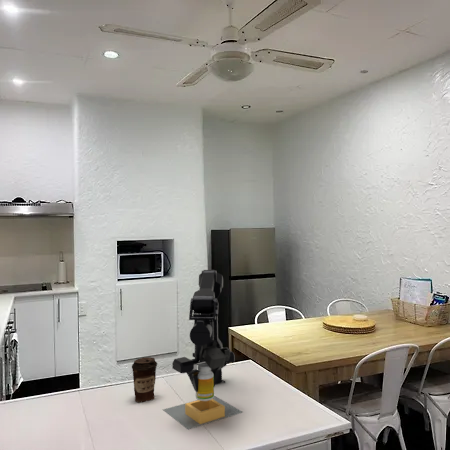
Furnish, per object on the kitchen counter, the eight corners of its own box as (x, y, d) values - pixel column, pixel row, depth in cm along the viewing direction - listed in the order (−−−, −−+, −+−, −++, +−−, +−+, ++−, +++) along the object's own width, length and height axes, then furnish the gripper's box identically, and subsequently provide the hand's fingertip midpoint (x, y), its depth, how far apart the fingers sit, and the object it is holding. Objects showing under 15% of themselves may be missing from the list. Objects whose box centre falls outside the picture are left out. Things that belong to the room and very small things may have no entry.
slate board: (162, 411, 127) (162, 409, 127) (214, 397, 138) (214, 395, 138) (188, 431, 114) (188, 429, 114) (243, 414, 125) (243, 412, 125)
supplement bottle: (216, 399, 122) (216, 366, 122) (199, 402, 120) (199, 369, 120) (209, 393, 127) (209, 361, 127) (193, 396, 124) (192, 363, 125)
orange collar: (185, 413, 124) (185, 403, 124) (209, 406, 129) (209, 397, 129) (200, 424, 117) (199, 413, 117) (224, 416, 122) (224, 406, 122)
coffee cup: (160, 402, 134) (160, 362, 135) (134, 406, 131) (134, 365, 132) (154, 393, 142) (154, 355, 143) (130, 396, 139) (129, 357, 140)
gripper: (190, 347, 112) (190, 406, 111) (245, 337, 122) (246, 390, 122) (171, 339, 121) (171, 393, 121) (224, 330, 131) (224, 379, 131)
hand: (204, 389), depth 123 cm, fingers closed on supplement bottle, 5 cm apart
